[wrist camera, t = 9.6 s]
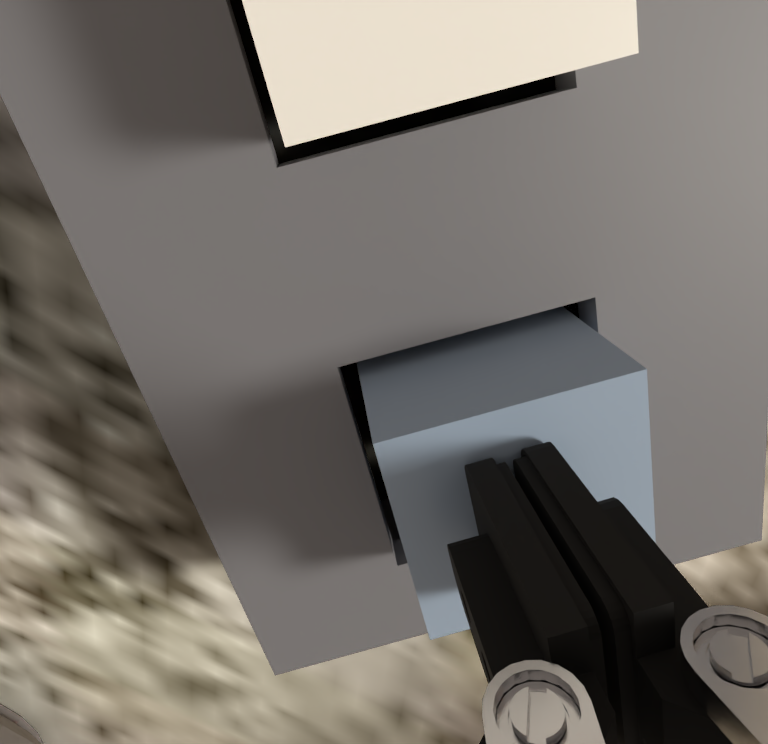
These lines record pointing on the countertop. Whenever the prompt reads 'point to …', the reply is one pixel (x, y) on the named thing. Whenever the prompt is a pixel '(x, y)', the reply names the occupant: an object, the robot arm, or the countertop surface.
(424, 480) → the key blue
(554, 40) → the key white
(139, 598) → the countertop surface
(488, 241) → the console
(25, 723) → the coffee pot
